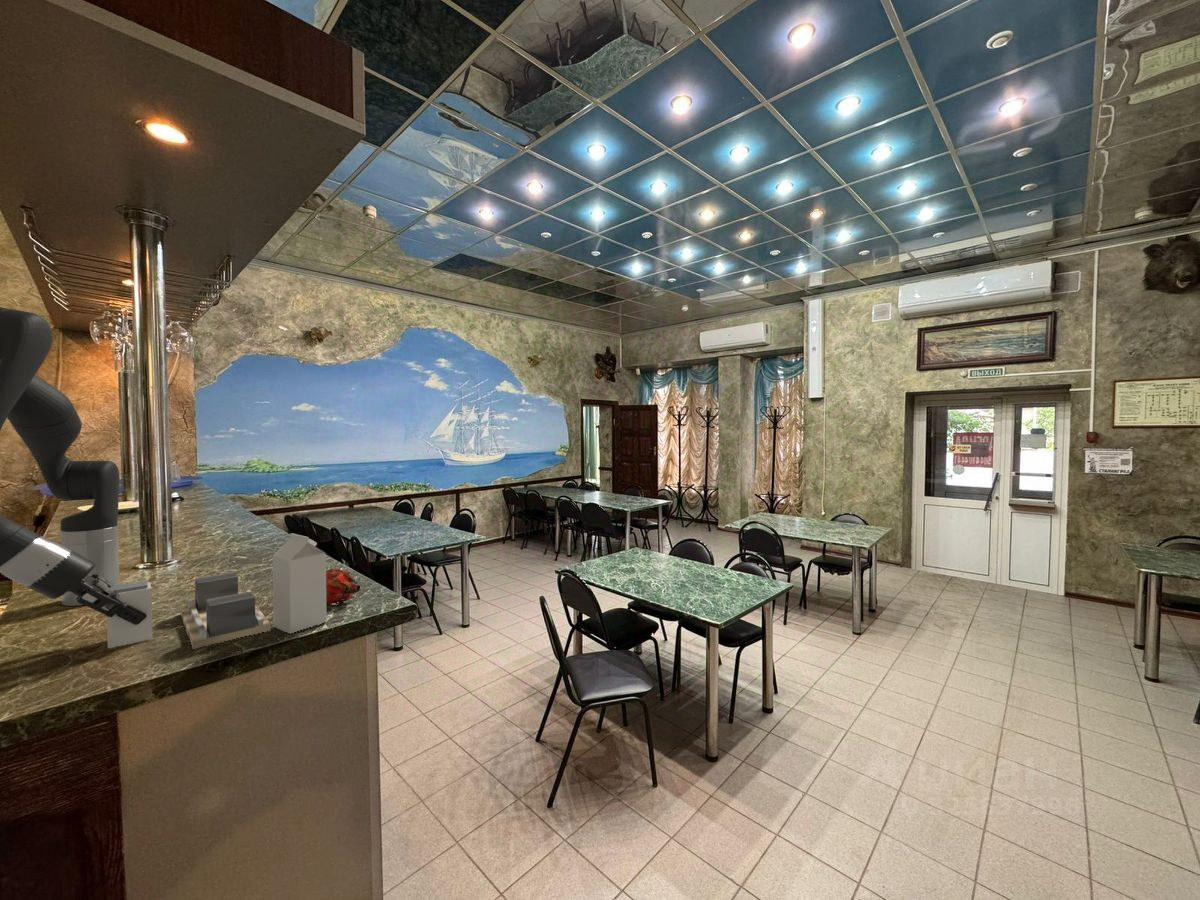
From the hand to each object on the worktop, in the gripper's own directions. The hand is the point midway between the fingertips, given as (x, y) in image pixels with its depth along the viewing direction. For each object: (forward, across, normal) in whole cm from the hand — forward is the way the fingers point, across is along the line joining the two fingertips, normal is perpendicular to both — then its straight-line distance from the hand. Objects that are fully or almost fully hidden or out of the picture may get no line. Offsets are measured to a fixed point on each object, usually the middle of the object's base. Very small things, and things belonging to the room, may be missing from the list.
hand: (141, 615), depth 92 cm
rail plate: (+12, -2, -6) cm, 13 cm away
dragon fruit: (+27, -5, -20) cm, 34 cm away
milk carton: (+20, -15, -13) cm, 28 cm away
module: (+2, 0, +4) cm, 5 cm away
